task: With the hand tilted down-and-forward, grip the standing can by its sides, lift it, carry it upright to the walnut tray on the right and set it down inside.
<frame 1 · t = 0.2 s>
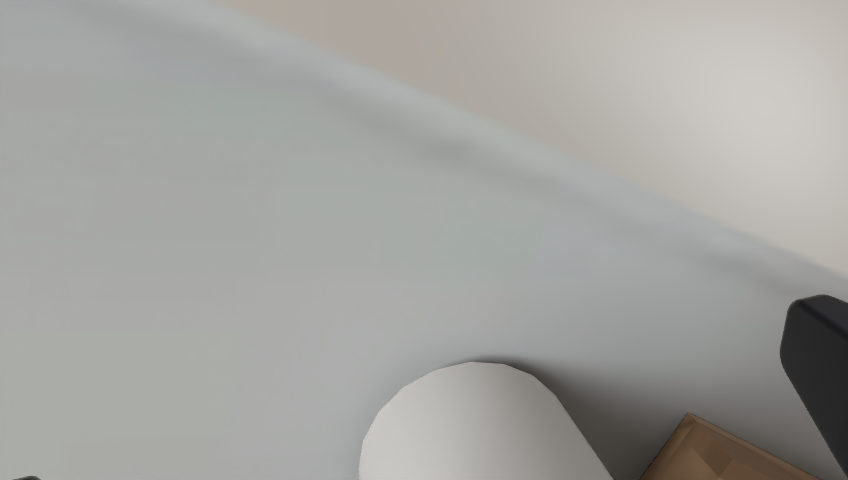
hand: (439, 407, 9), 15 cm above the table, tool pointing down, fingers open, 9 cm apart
can: (459, 442, 28), on the table
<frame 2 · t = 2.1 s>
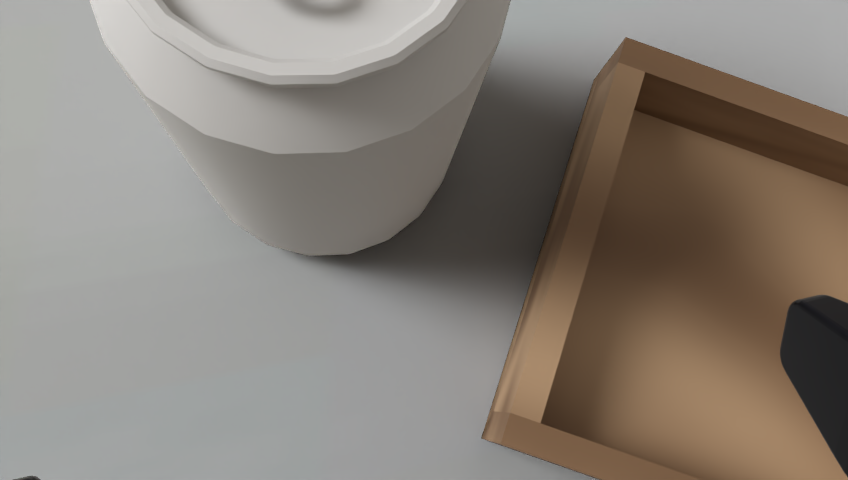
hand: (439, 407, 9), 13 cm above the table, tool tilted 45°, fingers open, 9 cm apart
can: (325, 141, 24), on the table
tray: (721, 313, 24), on the table
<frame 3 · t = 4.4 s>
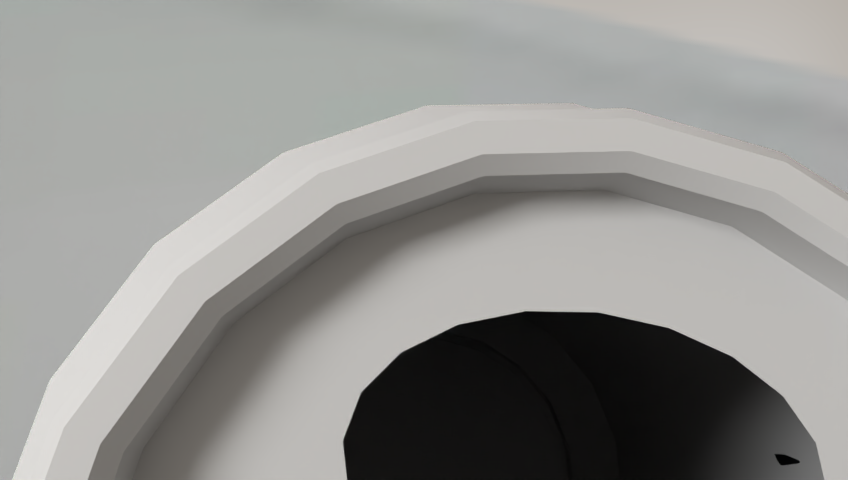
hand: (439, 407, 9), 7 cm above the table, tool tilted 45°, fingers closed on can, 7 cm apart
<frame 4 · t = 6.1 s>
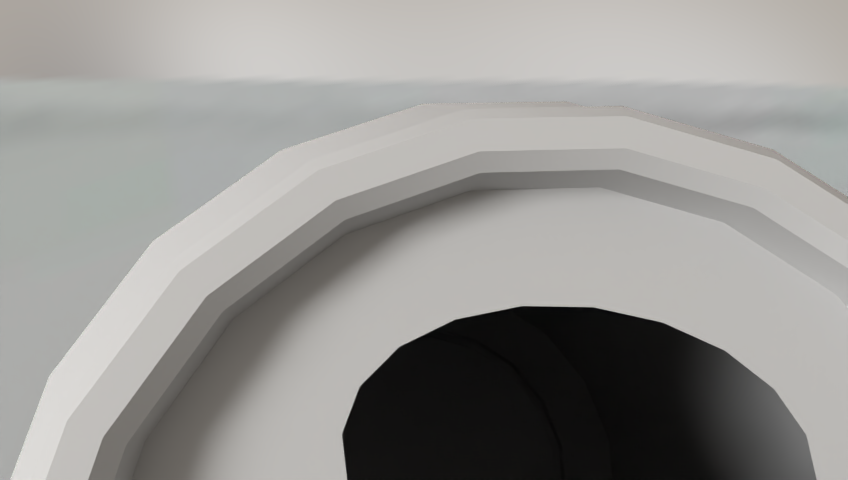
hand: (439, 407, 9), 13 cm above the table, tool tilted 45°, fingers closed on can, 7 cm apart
can: (414, 478, 16), point 6 cm above the table, touching gripper
when the fingers open (8 cm above the table, at t = 8.2 s): can stays where it is, resting on tray.
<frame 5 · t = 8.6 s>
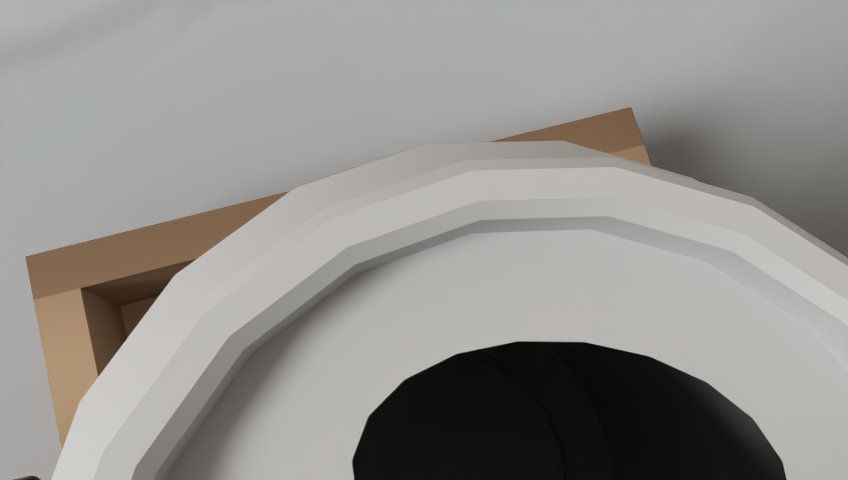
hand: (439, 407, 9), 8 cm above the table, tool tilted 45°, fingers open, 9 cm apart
tray: (416, 475, 17), on the table
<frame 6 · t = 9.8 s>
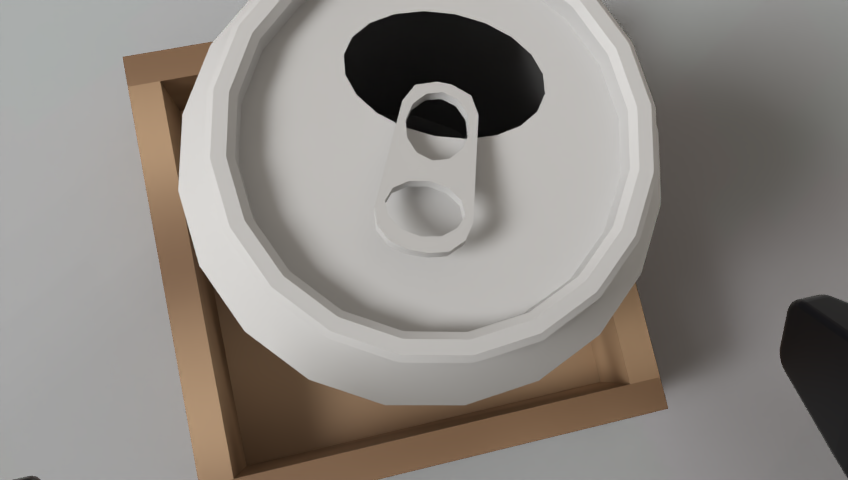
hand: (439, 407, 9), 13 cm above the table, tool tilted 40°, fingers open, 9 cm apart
can: (390, 252, 22), resting on tray
tray: (389, 249, 23), on the table
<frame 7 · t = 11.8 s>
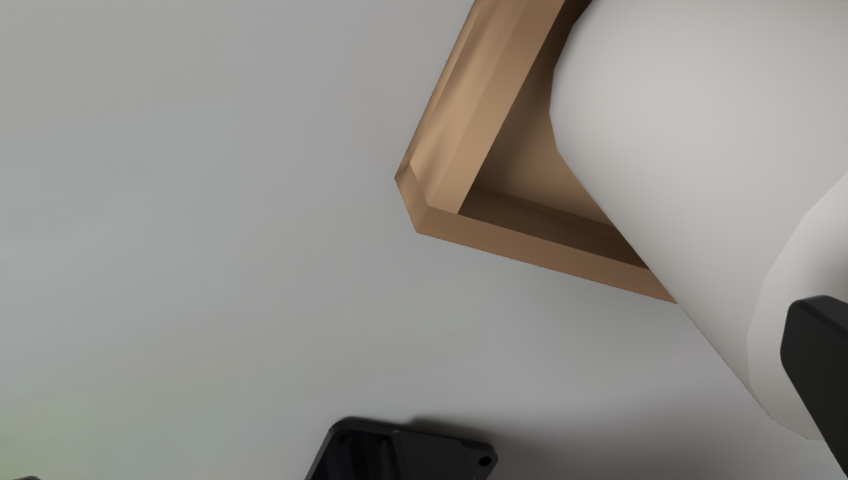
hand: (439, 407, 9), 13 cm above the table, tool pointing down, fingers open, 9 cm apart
can: (663, 69, 22), resting on tray
tray: (659, 59, 22), on the table
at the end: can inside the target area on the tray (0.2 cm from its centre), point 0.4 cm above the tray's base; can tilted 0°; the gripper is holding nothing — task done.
